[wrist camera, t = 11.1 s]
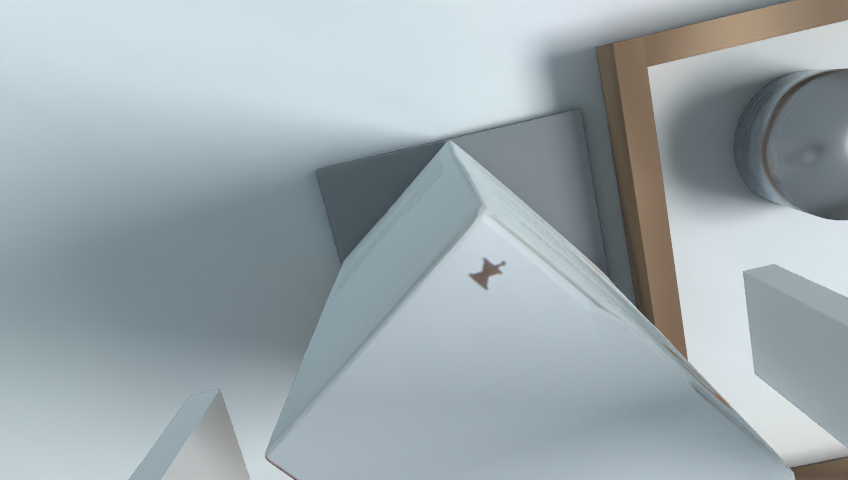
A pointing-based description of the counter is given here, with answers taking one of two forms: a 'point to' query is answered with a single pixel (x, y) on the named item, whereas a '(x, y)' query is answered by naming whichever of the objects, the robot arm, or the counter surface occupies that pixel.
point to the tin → (798, 142)
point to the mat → (500, 155)
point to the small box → (496, 359)
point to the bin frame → (640, 159)
